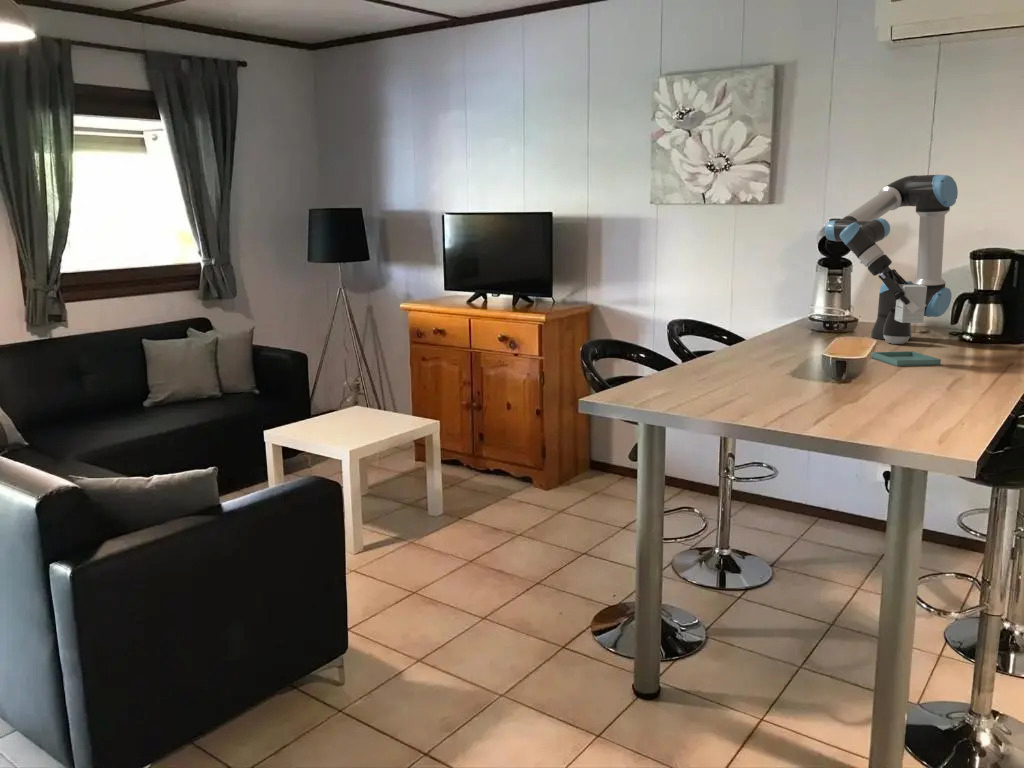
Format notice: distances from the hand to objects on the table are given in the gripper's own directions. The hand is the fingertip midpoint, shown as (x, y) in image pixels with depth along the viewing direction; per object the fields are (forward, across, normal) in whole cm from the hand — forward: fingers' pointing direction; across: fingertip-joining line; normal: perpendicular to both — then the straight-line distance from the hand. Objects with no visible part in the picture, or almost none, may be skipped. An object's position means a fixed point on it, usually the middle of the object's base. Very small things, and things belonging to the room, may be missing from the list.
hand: (919, 309), depth 286 cm
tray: (+11, 0, -15) cm, 19 cm away
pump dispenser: (+2, -39, -24) cm, 46 cm away
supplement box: (+1, 0, -6) cm, 6 cm away
